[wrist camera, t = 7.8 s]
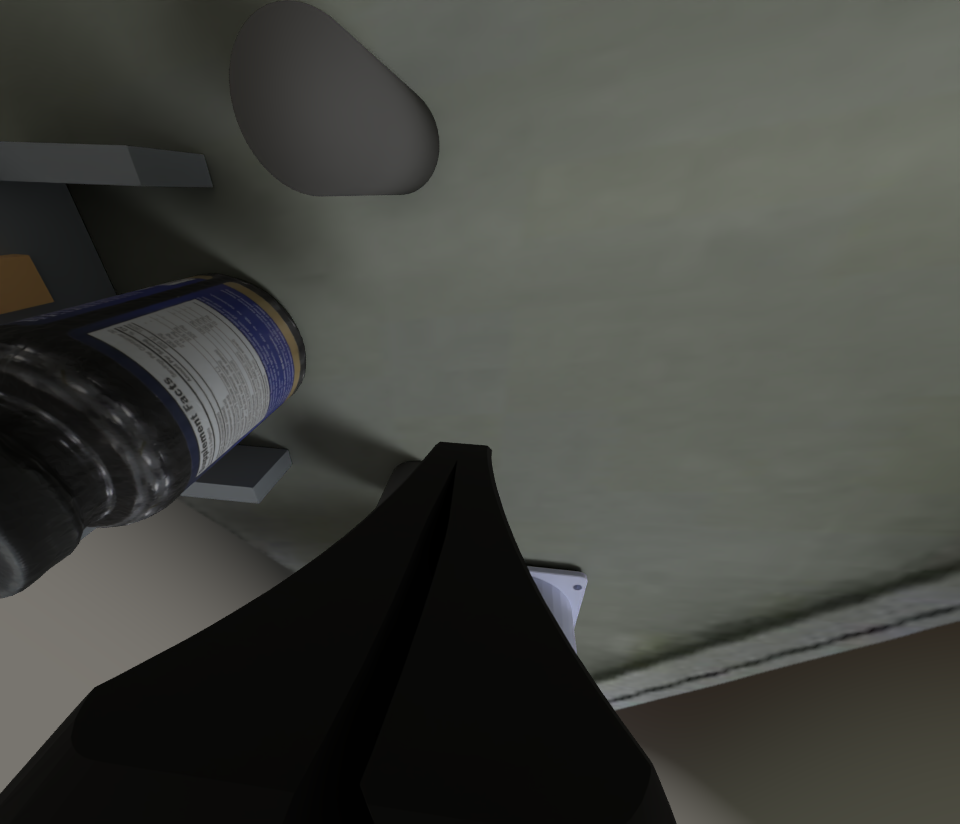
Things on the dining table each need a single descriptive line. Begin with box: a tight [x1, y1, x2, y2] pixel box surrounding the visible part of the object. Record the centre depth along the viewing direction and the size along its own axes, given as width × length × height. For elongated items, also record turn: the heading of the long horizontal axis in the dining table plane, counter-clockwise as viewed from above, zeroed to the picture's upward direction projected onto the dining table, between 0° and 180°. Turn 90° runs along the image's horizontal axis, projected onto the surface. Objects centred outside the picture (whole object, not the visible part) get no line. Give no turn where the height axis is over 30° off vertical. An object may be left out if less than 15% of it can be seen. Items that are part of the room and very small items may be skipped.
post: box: [229, 0, 439, 196], centre depth 10 cm, size 3×3×6 cm
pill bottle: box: [0, 274, 306, 598], centre depth 12 cm, size 6×6×11 cm
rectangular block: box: [0, 141, 292, 539], centre depth 14 cm, size 14×7×6 cm, turn 178°
